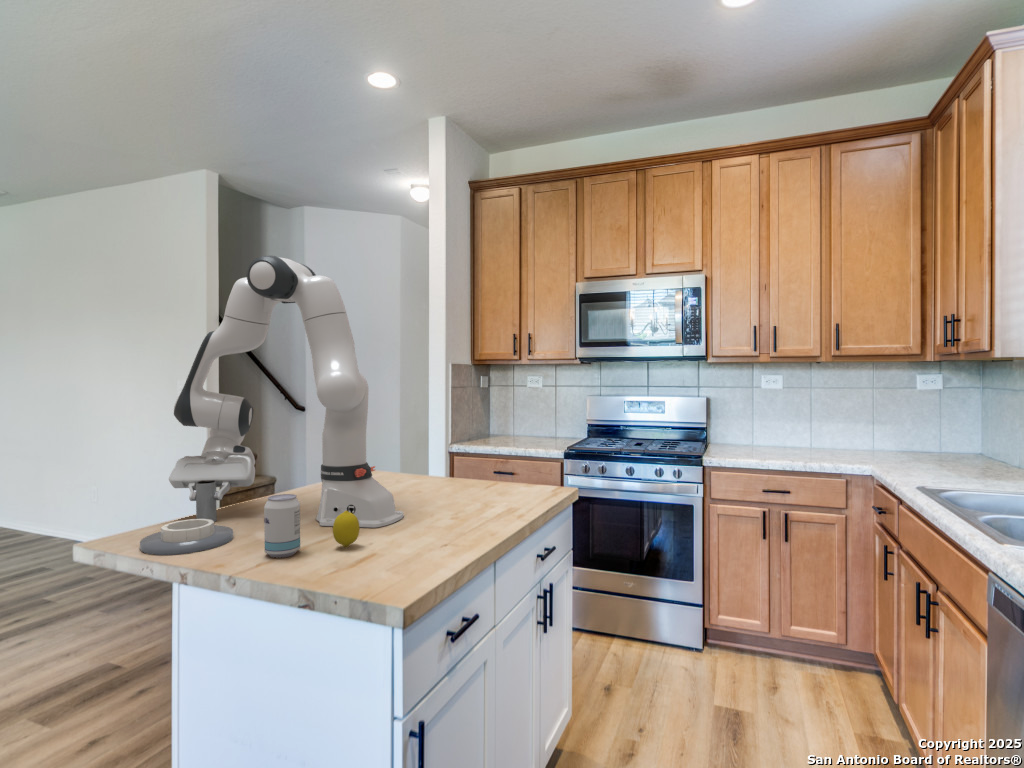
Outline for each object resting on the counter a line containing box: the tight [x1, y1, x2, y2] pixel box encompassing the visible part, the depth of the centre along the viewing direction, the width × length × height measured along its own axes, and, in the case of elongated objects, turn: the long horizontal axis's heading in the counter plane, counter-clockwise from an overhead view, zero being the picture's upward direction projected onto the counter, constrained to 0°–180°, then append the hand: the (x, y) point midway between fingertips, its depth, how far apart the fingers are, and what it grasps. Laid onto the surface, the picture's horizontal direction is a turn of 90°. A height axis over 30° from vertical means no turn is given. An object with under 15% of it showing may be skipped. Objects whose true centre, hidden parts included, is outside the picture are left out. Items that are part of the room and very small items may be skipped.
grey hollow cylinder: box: [195, 481, 218, 523], centre depth 144 cm, size 4×4×10 cm
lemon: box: [332, 511, 360, 548], centre depth 122 cm, size 6×6×8 cm
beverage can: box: [263, 493, 301, 559], centre depth 117 cm, size 7×7×12 cm
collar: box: [139, 518, 234, 556], centre depth 126 cm, size 18×18×4 cm
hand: (205, 499), depth 143 cm, fingers closed on grey hollow cylinder, 4 cm apart
